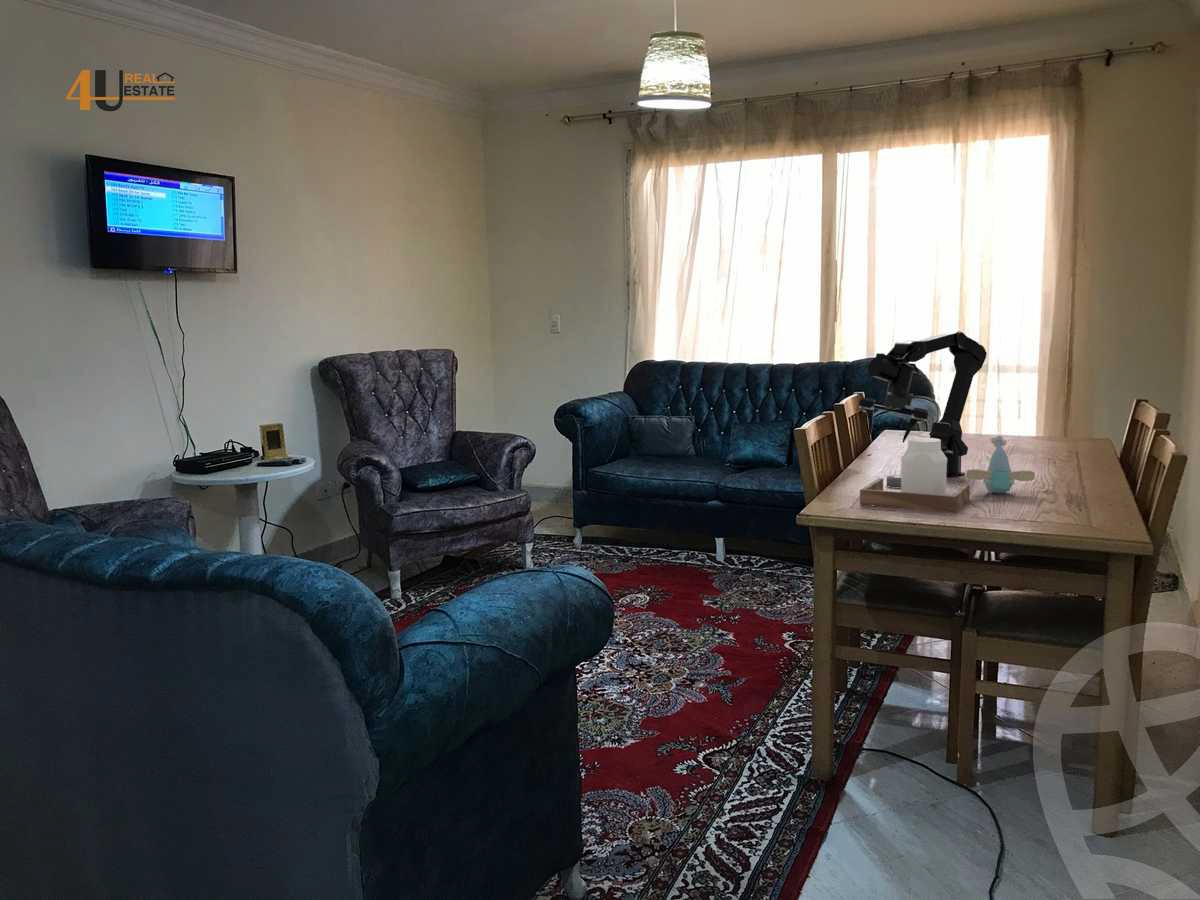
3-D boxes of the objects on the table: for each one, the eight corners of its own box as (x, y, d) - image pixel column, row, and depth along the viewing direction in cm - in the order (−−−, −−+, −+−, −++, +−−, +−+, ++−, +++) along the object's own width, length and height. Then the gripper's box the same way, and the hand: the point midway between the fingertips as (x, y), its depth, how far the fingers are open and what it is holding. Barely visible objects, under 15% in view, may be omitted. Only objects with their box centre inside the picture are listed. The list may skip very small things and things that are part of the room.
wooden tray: (878, 492, 258) (878, 478, 257) (969, 499, 245) (969, 483, 245) (859, 505, 243) (859, 489, 242) (955, 512, 230) (955, 496, 230)
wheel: (897, 483, 270) (897, 474, 269) (913, 486, 265) (913, 477, 264) (882, 485, 267) (882, 476, 267) (898, 488, 262) (898, 479, 261)
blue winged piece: (1030, 490, 254) (1032, 434, 252) (1034, 497, 244) (1036, 440, 242) (964, 488, 260) (965, 434, 257) (965, 495, 250) (966, 439, 247)
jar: (898, 498, 250) (899, 441, 248) (902, 491, 259) (903, 436, 256) (944, 500, 245) (946, 443, 243) (947, 493, 254) (948, 437, 252)
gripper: (864, 374, 262) (851, 429, 262) (934, 388, 256) (921, 444, 256) (865, 379, 272) (853, 432, 272) (932, 392, 267) (920, 446, 267)
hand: (886, 438), depth 267 cm, fingers open, 9 cm apart
